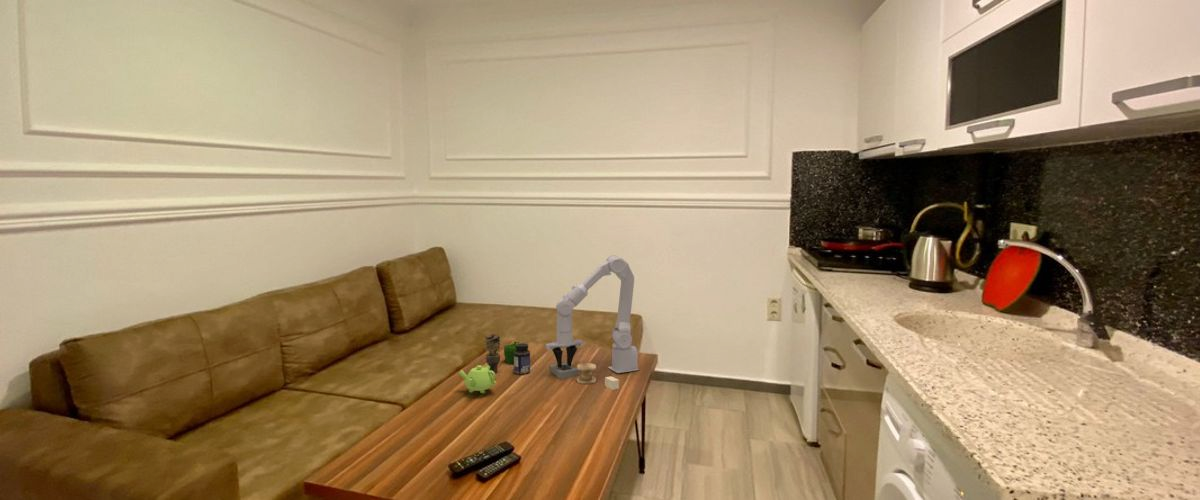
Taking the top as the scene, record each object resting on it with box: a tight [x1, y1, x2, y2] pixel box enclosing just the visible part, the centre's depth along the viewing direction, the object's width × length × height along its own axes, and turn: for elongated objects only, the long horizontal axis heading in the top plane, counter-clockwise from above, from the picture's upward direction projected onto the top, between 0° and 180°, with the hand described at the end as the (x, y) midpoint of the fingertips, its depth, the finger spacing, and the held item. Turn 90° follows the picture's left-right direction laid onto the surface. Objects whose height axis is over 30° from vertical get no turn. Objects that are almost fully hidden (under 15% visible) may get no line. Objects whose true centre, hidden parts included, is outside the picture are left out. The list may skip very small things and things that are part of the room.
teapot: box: [458, 364, 497, 394], centre depth 177 cm, size 11×12×8 cm
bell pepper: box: [503, 340, 520, 365], centre depth 207 cm, size 8×8×10 cm
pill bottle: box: [513, 342, 531, 376], centre depth 196 cm, size 6×6×11 cm
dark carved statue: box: [485, 333, 501, 373], centre depth 195 cm, size 6×6×15 cm
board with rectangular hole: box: [549, 362, 580, 380], centre depth 195 cm, size 8×10×2 cm
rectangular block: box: [604, 376, 620, 391], centre depth 181 cm, size 3×5×3 cm, turn 34°
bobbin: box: [576, 362, 597, 385], centre depth 187 cm, size 7×7×6 cm
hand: (564, 366), depth 195 cm, fingers open, 3 cm apart
